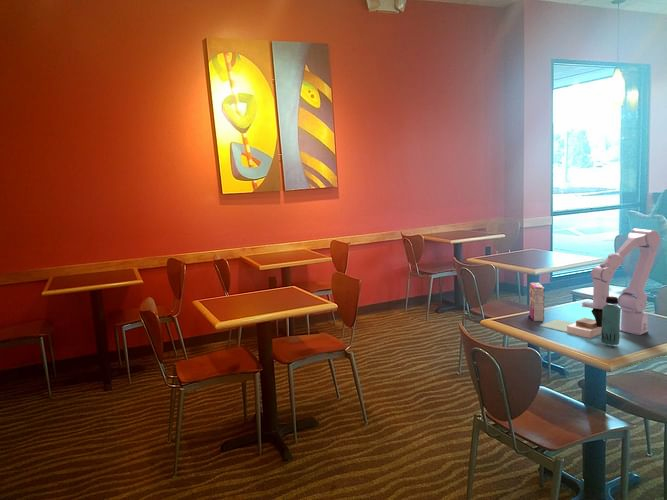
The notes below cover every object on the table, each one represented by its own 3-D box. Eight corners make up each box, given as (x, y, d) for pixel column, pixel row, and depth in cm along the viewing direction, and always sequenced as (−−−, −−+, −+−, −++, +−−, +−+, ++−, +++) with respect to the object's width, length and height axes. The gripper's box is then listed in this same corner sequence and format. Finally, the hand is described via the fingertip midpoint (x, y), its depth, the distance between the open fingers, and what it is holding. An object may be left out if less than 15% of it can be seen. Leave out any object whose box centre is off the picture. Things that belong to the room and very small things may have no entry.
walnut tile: (600, 325, 209) (600, 321, 209) (592, 328, 205) (592, 324, 205) (584, 322, 215) (584, 317, 215) (575, 325, 211) (576, 320, 211)
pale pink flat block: (606, 331, 211) (607, 324, 210) (589, 338, 203) (590, 331, 203) (583, 326, 219) (584, 319, 219) (566, 332, 211) (567, 325, 211)
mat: (582, 325, 219) (582, 325, 219) (565, 332, 212) (565, 331, 212) (556, 320, 230) (556, 319, 230) (539, 326, 222) (539, 325, 222)
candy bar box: (528, 315, 240) (529, 282, 238) (539, 315, 239) (540, 282, 237) (533, 321, 229) (533, 287, 227) (544, 321, 228) (545, 287, 226)
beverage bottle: (613, 343, 196) (615, 294, 193) (623, 348, 189) (625, 298, 187) (597, 344, 196) (598, 295, 193) (606, 349, 189) (608, 299, 186)
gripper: (578, 293, 208) (577, 324, 210) (614, 299, 196) (612, 332, 198) (587, 291, 212) (586, 321, 214) (622, 296, 200) (621, 328, 202)
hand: (599, 326), depth 206 cm, fingers closed
